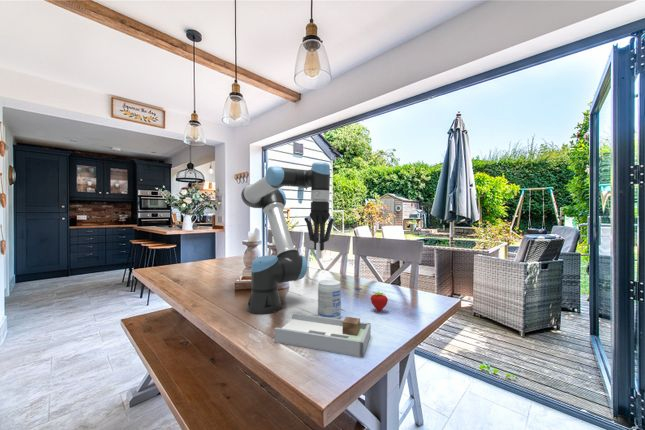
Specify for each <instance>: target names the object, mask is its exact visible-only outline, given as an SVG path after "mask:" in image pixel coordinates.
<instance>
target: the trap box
mask: <svg viewBox="0 0 645 430" xmlns="http://www.w3.org/2000/svg"><path fill="white" fill-rule="evenodd" d="M343 321H344V319H342V318H339V319H335V318H327V317H320V316H318V315H311V314H303V313H297V312H296V313H295V312H292V314H291V319H290V320H289V321H288V322H287V323H286V324H285V325H283V327H275V328H274V343H279V344H286V345H290V346H297V347H303V348H307V349H313V350H314V349H315V350H319V351H324V352H331V353H336V354H342V355H348V356H351V357H359V358H364V355H365V353H366V351H367V350H366V349H367V347H368V344H369V341H370V338H371V332H372V331H371V326H372V325H371V323H370V322H364V321H360V331H359V333H358V335H357V336H354V335H347V334H343Z"/></svg>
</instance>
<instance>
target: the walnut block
mask: <svg viewBox="0 0 645 430" xmlns="http://www.w3.org/2000/svg"><path fill="white" fill-rule="evenodd" d="M343 320H344V321H343V334H347V335H354V336H357V335H358V333H359V331H360V322H361V318H358V317H351V316H350V317H349V316H345V318H344V319H343Z"/></svg>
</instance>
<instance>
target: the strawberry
mask: <svg viewBox="0 0 645 430" xmlns="http://www.w3.org/2000/svg"><path fill="white" fill-rule="evenodd" d="M372 293H373V294H372V295H371V296H370V302H371V304H372V306H373V307H374V308H375V310H376V311H377V312H379V313H380V312H382V310H383V309H384V308H385V307H386V305H387V304H388V302H389V300H388V297H387V296H386V294H383V292H380V291H377V292H372Z"/></svg>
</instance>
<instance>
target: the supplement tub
mask: <svg viewBox="0 0 645 430" xmlns="http://www.w3.org/2000/svg"><path fill="white" fill-rule="evenodd" d="M341 292H342V286H341V281H339V280H336V279H321V280H319V281H318V288H317V314H318V315H317V316H320V317H327V318H335V319H341V312H342V311H341V309H342V307H341V304H342V303H341V301H342V298H341V297H342V296H341V295H342V293H341Z"/></svg>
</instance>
